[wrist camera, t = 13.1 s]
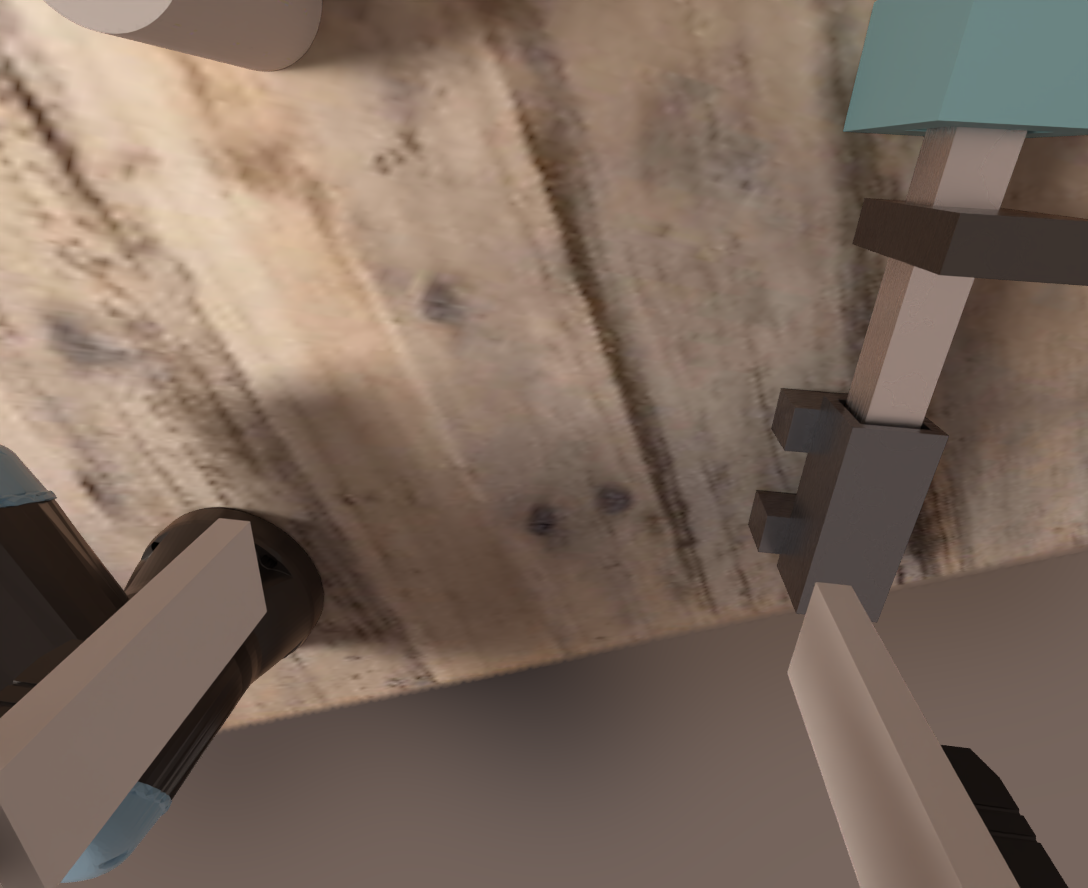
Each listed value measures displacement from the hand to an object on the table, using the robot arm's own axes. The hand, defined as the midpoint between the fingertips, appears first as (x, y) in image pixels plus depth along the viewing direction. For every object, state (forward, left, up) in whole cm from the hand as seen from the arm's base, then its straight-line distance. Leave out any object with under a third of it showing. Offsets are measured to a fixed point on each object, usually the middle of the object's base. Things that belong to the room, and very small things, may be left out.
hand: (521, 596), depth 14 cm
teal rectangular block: (+14, -18, -29) cm, 37 cm away
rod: (+2, -18, -26) cm, 31 cm away
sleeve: (-9, -18, -29) cm, 35 cm away
